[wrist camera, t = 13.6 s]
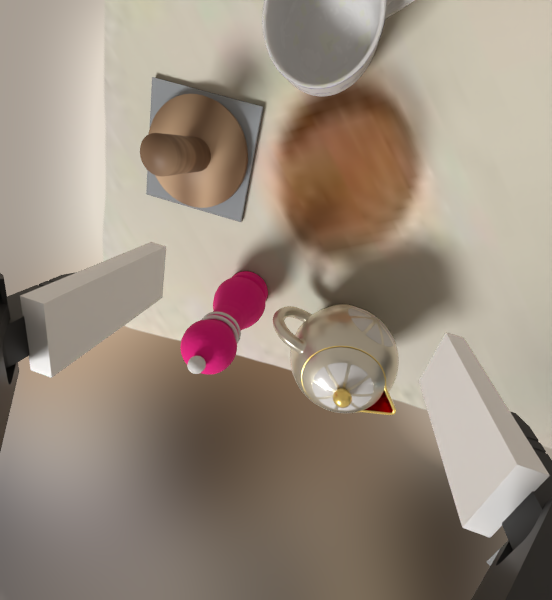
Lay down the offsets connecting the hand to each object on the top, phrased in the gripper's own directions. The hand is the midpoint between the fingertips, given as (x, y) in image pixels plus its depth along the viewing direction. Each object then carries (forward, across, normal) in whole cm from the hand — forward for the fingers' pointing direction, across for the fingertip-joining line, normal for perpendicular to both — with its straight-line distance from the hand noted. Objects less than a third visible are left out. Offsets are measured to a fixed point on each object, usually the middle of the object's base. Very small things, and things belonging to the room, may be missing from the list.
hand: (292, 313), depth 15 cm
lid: (+29, +18, -3) cm, 35 cm away
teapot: (+31, -5, +15) cm, 35 cm away
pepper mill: (+30, +9, +14) cm, 35 cm away
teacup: (+30, +4, -18) cm, 35 cm away
